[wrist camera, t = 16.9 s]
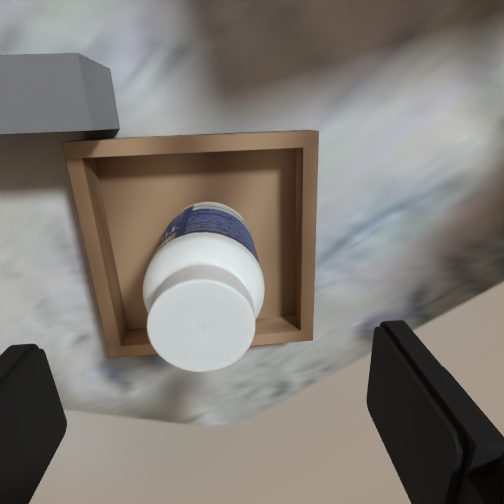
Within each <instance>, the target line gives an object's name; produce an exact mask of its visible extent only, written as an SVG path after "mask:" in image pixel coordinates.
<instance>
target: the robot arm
mask: <svg viewBox="0 0 504 504" xmlns="http://www.w3.org/2000/svg"><path fill="white" fill-rule="evenodd" d="M367 406H368V410H369V412H370V415H371V417H372V419H373V422H374V424H375V426H376V428H377V430H378V432H379V434H380V436H381V438H382V441H383V443H384V445H385V447H386V450H387V452H388V454H389V456H390V458H391V460H392V463H393V465H394V467H395V469H396V471H397V473H398V476H399V477H400V480H401V482H402V484H403V486H404V488H405V491H406V493H407V494H408V497H409V499H410V501H411V504H504V437H503V435H502V434H501V433H500V432H499V431H498V430H497V428H496V427H495V426H494V425H493V424H492V423H491V421H490V420H489V419H488V418H487V417H486V415H485V414H484V413H483V412H482V411H481V410H480V408H479V407H478V406H477V405H476V403H474V401H473V400H472V399H471V398H470V396H469V395H468V394H467V393H466V392H465V390H464V389H463V388H462V387H461V386H460V385H459V383H458V382H457V381H456V380H455V379H454V377H453V376H452V375H451V374H450V373H449V372H448V371H447V370H446V369H445V368H444V367H443V366H441V364H440V363H439V362H438V361H437V360H436V358H435V357H434V356H433V355H432V354H431V352H430V351H429V350H428V349H427V348H426V346H425V345H424V344H423V343H422V342H421V341H420V339H419V338H418V337H417V336H416V335H415V333H414V332H413V331H412V330H411V329H410V327H409V326H408V325H407V324H406V323H405V322H404V321H402V320H398V321H383V322H381V324H380V327H376V328H375V330H374V337H373V346H372V355H371V364H370V373H369V382H368V391H367ZM66 427H67V421H66V417H65V414H64V411H63V408H62V405H61V401H60V398H59V395H58V392H57V389H56V386H55V382H54V379H53V376H52V373H51V370H50V367H49V364H48V360H47V357H46V354H45V352H44V350H43V349H39V347H38V346H37V345H36V344H22V345H12V346H10V347H8V348H7V349H6V350H5V351H4V352H3V353H2V354H1V355H0V504H29V502H30V500H31V498H32V496H33V494H34V492H35V490H36V488H37V487H38V485H39V483H40V481H41V479H42V477H43V475H44V473H45V471H46V469H47V467H48V465H49V464H50V462H51V459H52V458H53V456H54V454H55V452H56V450H57V448H58V446H59V444H60V442H61V440H62V439H63V437H64V434H65V432H66Z"/></svg>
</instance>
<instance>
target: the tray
mask: <svg viewBox="0 0 504 504" xmlns="http://www.w3.org/2000/svg"><path fill="white" fill-rule="evenodd" d="M318 140H319V131H315V130H292V131H269V132H246V133H223V134H200V135H177V136H154V137H131V138H108V139H85V140H74V141H66V142H62V145H63V150H64V154H65V159H66V163H67V168H68V172H69V177H70V181H71V185H72V190H73V194H74V199H75V203H76V208H77V212H78V217H79V221H80V226H81V230H82V235H83V239H84V244H85V248H86V253H87V257H88V262H89V266H90V271H91V275H92V280H93V284H94V289H95V293H96V297H97V302H98V306H99V311H100V315H101V320H102V324H103V329H104V333H105V338H106V342H107V347H108V351H109V356H110V358H117V357H128V356H139V355H151V354H158V353H157V352H156V351H155V349H154V348H153V346H152V344H151V342H150V340H149V337H148V333H147V317H148V312H147V310H146V307H145V304H144V299H143V282H144V277H145V274H146V271H147V268H148V265H149V263H150V261H151V259H152V257H153V255H154V253H155V251H156V249H157V247H158V245H159V243H160V241H161V239H162V237H163V235H164V233H165V231H166V229H167V227H168V225H169V224H170V222H171V221H172V220H173V218H174V217H175V216H176V215H177V214H178V213H179V212H180V211H181V210H183V209H184V208H186V207H187V206H190V205H192V204H195V203H200V202H217V203H221V204H224V205H226V206H228V207H230V208H232V209H233V210H235V211H237V212H238V213H239V214H240V215H241V216H242V217H243V219H244V220H245V221H246V223H247V225H248V226H249V229H250V231H251V234H252V237H253V241H254V245H255V249H256V252H257V256H258V260H259V263H260V266H261V270H262V273H263V278H264V288H265V293H264V300H263V305H262V307H261V310H260V313H259V315H258V316H257V318H256V320H255V334H254V337H253V340H252V343H251V345H250V346H254V345H265V344H277V343H288V342H299V341H311V340H313V314H314V279H315V245H316V210H317V175H318Z"/></svg>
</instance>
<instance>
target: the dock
mask: <svg viewBox="0 0 504 504" xmlns="http://www.w3.org/2000/svg"><path fill="white" fill-rule="evenodd" d="M106 129H120V127H119V121H118V115H117V109H116V102H115V96H114V90H113V84H112V78H111V72H110V69H109V68H107V67H105V66H103V65H101V64H99V63H97V62H95V61H93V60H91V59H89V58H87V57H85V56H83V55H81V54H79V53H63V54H24V55H0V134H17V133H41V132H65V131H89V130H106Z"/></svg>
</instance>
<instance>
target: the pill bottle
mask: <svg viewBox="0 0 504 504" xmlns="http://www.w3.org/2000/svg"><path fill="white" fill-rule="evenodd" d="M264 293H265V288H264V278H263V273H262V270H261V266H260V263H259V260H258V256H257V252H256V249H255V245H254V241H253V237H252V234H251V231H250V229H249V226H248V225H247V223H246V221H245V220H244V219H243V217H242V216H241V215H240V214H239V213H238V212H237V211H235V210H233V209H232V208H230V207H228V206H226V205H224V204H221V203H217V202H200V203H195V204H192V205H190V206H187V207H186V208H184V209H183V210H181V211H180V212H179V213H178V214H177V215H176V216H175V217H174V218H173V220H172V221H171V222H170V224H169V225H168V227H167V229H166V231H165V233H164V235H163V237H162V239H161V241H160V243H159V245H158V247H157V249H156V251H155V253H154V255H153V257H152V259H151V261H150V263H149V265H148V268H147V271H146V274H145V277H144V282H143V299H144V304H145V307H146V310H147V312H148V317H147V333H148V337H149V340H150V342H151V344H152V346H153V348H154V349H155V351H156V352H157V353H158V354H159V355H160V356H161V357H162V358H163V359H164V360H165V361H167V362H168V363H170V364H172V365H173V366H175V367H178V368H180V369H184V370H187V371H192V372H209V371H215V370H219V369H222V368H225V367H227V366H229V365H231V364H233V363H234V362H236V361H237V360H238V359H239V358H241V357H242V356H243V354H244V353H245V352H246V351H247V350H248V348H249V347H250V345H251V343H252V340H253V337H254V334H255V320H256V318H257V316H258V315H259V313H260V310H261V307H262V305H263V300H264Z"/></svg>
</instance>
